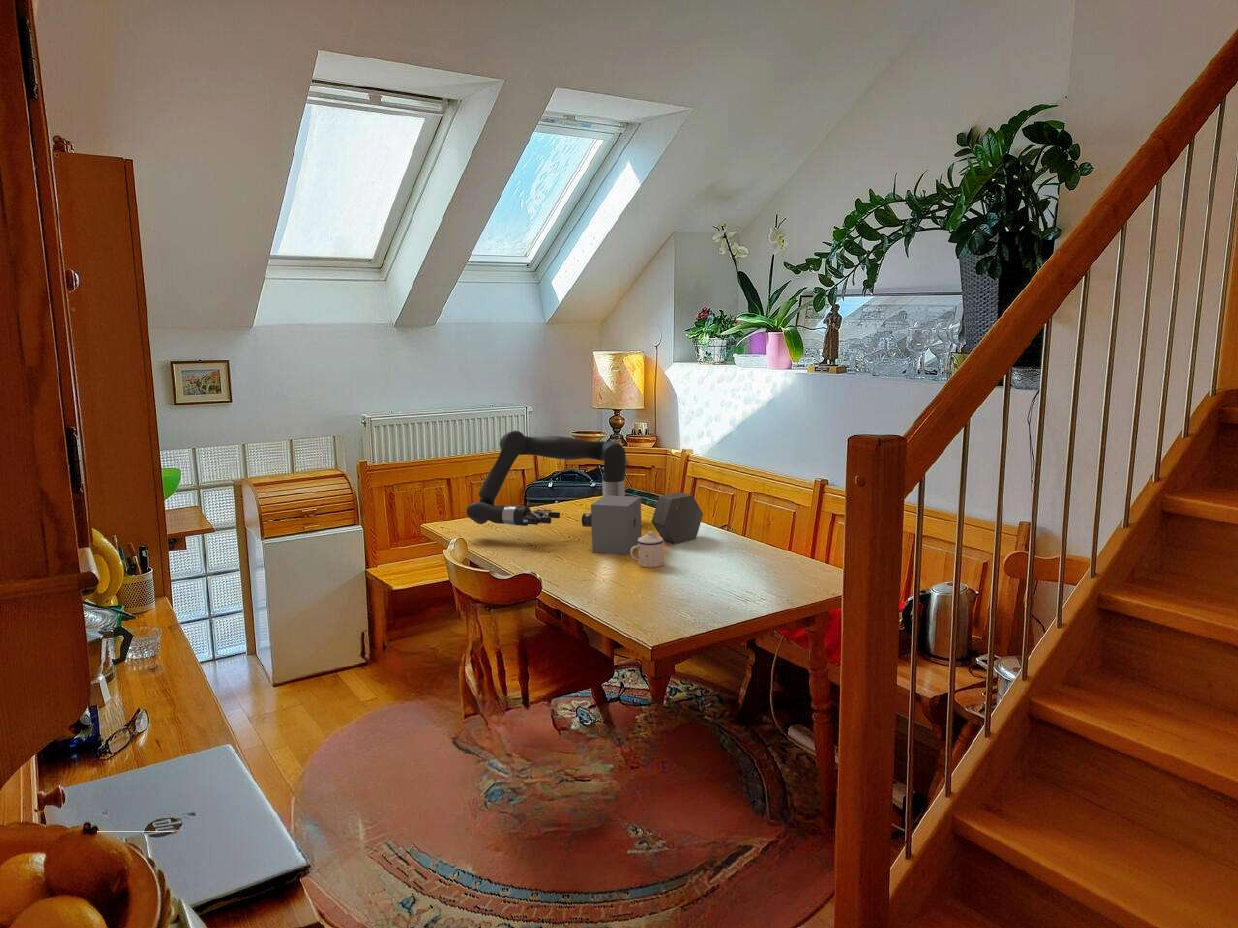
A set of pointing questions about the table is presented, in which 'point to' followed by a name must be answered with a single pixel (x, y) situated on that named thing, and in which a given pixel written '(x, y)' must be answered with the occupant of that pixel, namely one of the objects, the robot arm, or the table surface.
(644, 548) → the teacup with lid
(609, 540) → the block
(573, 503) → the table surface
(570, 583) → the table surface
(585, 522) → the plunger
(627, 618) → the table surface
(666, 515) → the dark grey hexagonal block
